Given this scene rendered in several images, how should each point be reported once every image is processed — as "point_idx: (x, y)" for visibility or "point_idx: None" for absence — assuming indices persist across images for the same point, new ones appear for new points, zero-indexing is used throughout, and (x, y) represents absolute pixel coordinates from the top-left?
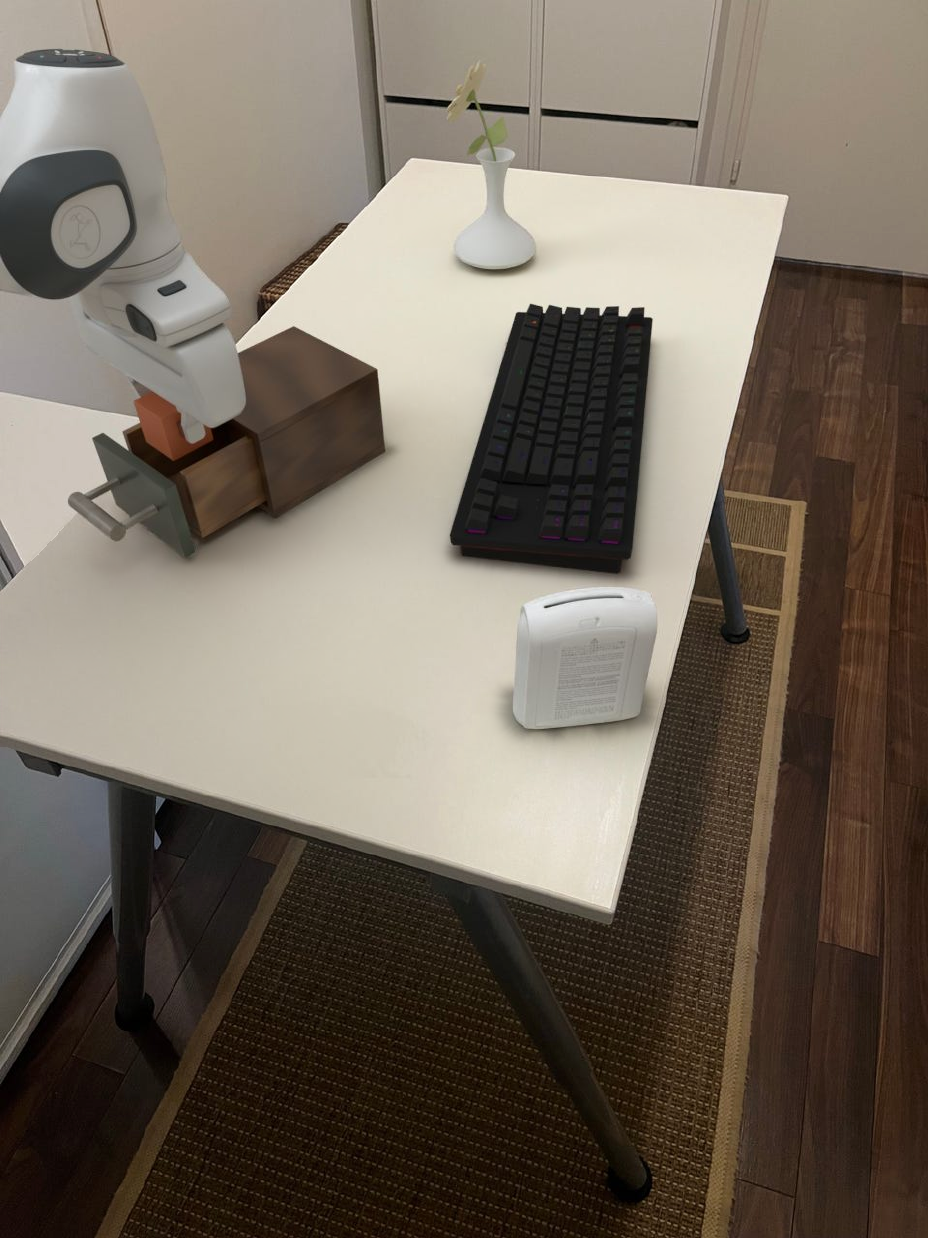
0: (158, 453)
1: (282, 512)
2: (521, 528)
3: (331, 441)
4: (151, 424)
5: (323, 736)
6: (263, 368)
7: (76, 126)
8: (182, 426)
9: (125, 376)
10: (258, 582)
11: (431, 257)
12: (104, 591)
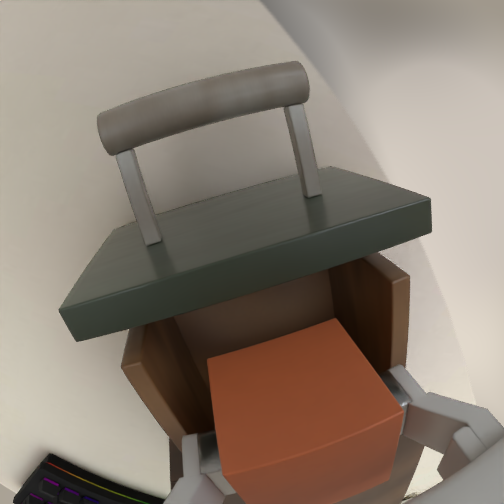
0: (352, 295)
1: None
2: (43, 493)
3: None
4: (299, 403)
5: None
6: (354, 499)
7: None
8: (196, 475)
9: (488, 413)
10: (47, 302)
11: (427, 482)
12: (131, 80)
